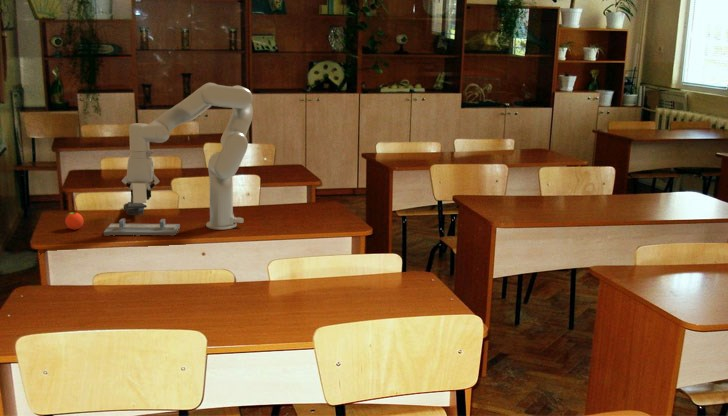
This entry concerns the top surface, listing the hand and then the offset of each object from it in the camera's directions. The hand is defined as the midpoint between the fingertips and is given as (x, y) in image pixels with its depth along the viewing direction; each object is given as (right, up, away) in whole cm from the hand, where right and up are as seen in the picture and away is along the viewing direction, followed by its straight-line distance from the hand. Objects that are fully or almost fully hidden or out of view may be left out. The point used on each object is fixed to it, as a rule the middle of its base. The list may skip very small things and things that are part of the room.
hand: (141, 198), depth 303 cm
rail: (0, -12, +3) cm, 12 cm away
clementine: (-28, -13, +3) cm, 31 cm away
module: (0, -1, 0) cm, 1 cm away
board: (0, -13, +3) cm, 14 cm away
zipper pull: (-12, -7, +31) cm, 34 cm away
